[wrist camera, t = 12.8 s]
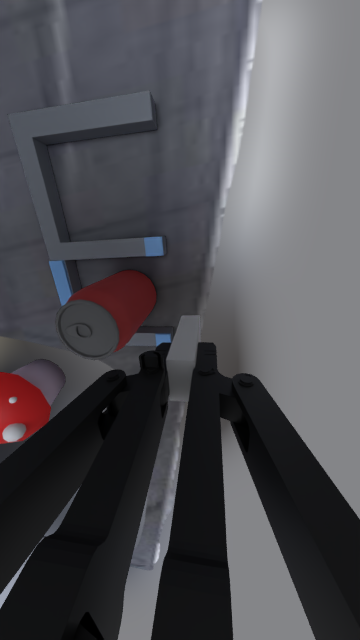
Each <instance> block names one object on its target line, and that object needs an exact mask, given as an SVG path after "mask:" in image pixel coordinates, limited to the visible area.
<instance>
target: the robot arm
mask: <svg viewBox="0 0 360 640" xmlns="http://www.w3.org/2000/svg"><path fill="white" fill-rule="evenodd" d="M139 361H140V367H141V370H140V372H139V373H138V374H135V375H129V376H126V374H125V372H124V371H122V370H111V371H109V372H106V373H105V374H103V375H102V376H101V377H100V378H99V379H98V380H96V381H95V382H94V383H93V384H92V385H91V386H89V387H88V388H87V389H86V390H85V391H83V392H82V393H81V394H80V395H79V396H78V397H77V398H75V399H74V400H73V401H72V402H71V403H70V404H68V405H67V406H66V407H65V408H64V409H63V410H62V411H60V412H59V413H58V414H57V415H56V416H55V417H54V418H53V419H51V420H50V421H49V422H48V423H47V424H45V425H44V426H43V427H42V428H41V429H40V430H39V431H37V432H36V433H35V434H34V435H33V436H32V437H31V438H29V439H28V440H27V441H26V442H25V443H24V444H22V445H21V446H20V447H19V448H18V449H17V450H16V451H14V452H13V453H12V454H11V455H10V456H9V457H7V458H6V459H5V460H4V461H3V462H2V463H0V594H1V593H2V592H3V590H4V589H5V587H6V586H7V584H8V583H9V582H10V581H11V579H12V578H13V577H14V575H15V574H16V573H17V571H18V570H19V569H20V567H21V566H22V564H23V563H24V562H25V560H26V559H27V557H28V556H29V555H30V554H31V552H32V551H33V549H34V548H35V546H36V545H37V544H38V543H39V541H40V540H41V539H42V537H43V536H44V535H45V533H46V532H47V531H48V529H49V528H50V526H51V525H52V524H53V522H54V520H55V519H56V518H57V517H58V515H59V514H60V513H61V512H62V510H63V509H64V507H65V506H66V505H67V503H68V502H69V501H70V499H71V498H72V496H73V495H74V494H75V493H76V491H77V490H78V488H79V487H80V488H79V490H78V492H77V494H76V496H75V498H74V500H73V502H72V504H71V506H70V508H69V510H68V512H67V514H66V516H65V518H64V519H63V521H62V523H61V525H60V527H59V528H58V529H57V531H56V532H55V533H54V534H52V535H49V536H47V537H45V538H44V539H43V540H42V541H41V542H40V543H39V544H38V545H37V546H36V548H35V550H34V551H33V553H32V554H31V556H30V557H29V559H28V561H27V562H26V564H25V566H24V568H23V569H22V571H21V573H20V575H19V577H18V579H17V580H16V582H15V584H14V586H13V587H12V589H11V591H10V593H9V595H8V596H7V598H6V600H5V602H4V603H3V605H2V607H1V609H0V640H117V639H118V634H119V629H120V625H121V619H122V612H123V600H124V590H125V584H126V579H127V575H128V571H129V567H130V563H131V559H132V555H133V550H134V546H135V542H136V538H137V534H138V530H139V526H140V521H141V517H142V513H143V509H144V505H145V501H146V497H147V493H148V489H149V484H150V480H151V476H152V472H153V468H154V464H155V460H156V456H157V451H158V447H159V443H160V439H161V435H162V431H163V427H164V423H165V418H166V414H167V410H168V396H169V397H170V401H188V409H187V416H186V423H185V431H184V438H183V445H182V452H181V460H180V467H179V474H178V482H177V489H176V496H175V504H174V511H173V518H172V526H171V533H170V541H169V546H168V551H167V553H166V556H165V558H164V561H163V566H162V571H161V577H160V583H159V590H158V596H157V602H156V609H155V616H154V623H153V629H152V636H151V640H233V628H232V610H231V592H230V578H229V568H228V561H227V544H226V524H225V504H224V484H223V465H222V444H221V424H220V417H221V418H224V419H227V420H229V421H230V422H231V426H232V428H233V431H234V433H235V436H236V439H237V441H238V443H239V446H240V449H241V451H242V454H243V456H244V459H245V461H246V464H247V466H248V469H249V472H250V474H251V476H252V479H253V482H254V484H255V487H256V489H257V491H258V494H259V497H260V499H261V502H262V505H263V507H264V509H265V512H266V515H267V517H268V520H269V522H270V525H271V527H272V530H273V532H274V535H275V538H276V540H277V543H278V545H279V547H280V550H281V553H282V555H283V558H284V560H285V563H286V565H287V568H288V570H289V573H290V576H291V578H292V580H293V583H294V585H295V588H296V591H297V593H298V596H299V598H300V601H301V603H302V606H303V608H304V611H305V614H306V616H307V619H308V621H309V624H310V626H311V629H312V631H313V634H314V636H315V639H316V640H360V519H359V518H358V516H357V515H356V514H355V512H354V511H353V509H352V508H351V507H350V506H349V504H348V503H347V501H346V500H345V499H344V497H343V496H342V494H341V493H340V491H339V490H338V489H337V487H336V486H335V484H334V483H333V482H332V480H331V479H330V477H329V476H328V475H327V474H326V472H325V471H324V469H323V468H322V466H321V465H320V464H319V462H318V461H317V460H316V458H315V457H314V455H313V454H312V452H311V451H310V450H309V448H308V447H307V446H306V444H305V443H304V442H303V440H302V439H301V437H300V436H299V435H298V433H297V432H296V430H295V429H294V427H293V426H292V425H291V423H290V422H289V421H288V419H287V418H286V416H285V415H284V414H283V412H282V411H281V410H280V408H279V407H278V405H277V404H276V402H275V401H274V400H273V398H272V397H271V396H270V394H269V393H268V391H267V390H266V389H265V387H264V386H263V384H262V383H261V382H260V380H259V379H258V378H257V377H255V376H253V375H250V374H246V373H245V374H244V373H241V374H237V375H235V376H234V377H233V379H231V378H228V377H225V376H223V375H221V374H220V373H219V372H218V370H217V355H216V346H215V345H214V343H206V342H205V343H204V342H201V328H200V315H182V316H181V319H180V322H179V325H178V327H177V330H176V333H175V336H174V339H173V341H172V343H170V342H162V343H161V344H159V345H158V346H157V348H156V350H155V351H154V350H153V351H147V352H144V353H142V354H141V355H140V356H139ZM105 408H107V410H106V411H105V412H103V413H102V411H103V410H104V409H105Z"/></svg>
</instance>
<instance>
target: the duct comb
mask: <svg viewBox="0 0 360 640" xmlns="http://www.w3.org/2000/svg"><path fill="white" fill-rule="evenodd" d="M7 115H8V119H9V122H10V125H11V129H12V132H13V136H14V139H15V142H16V146H17V149H18V153H19V156H20V160H21V163H22V166H23V170H24V173H25V177H26V180H27V184H28V187H29V190H30V194H31V197H32V201H33V204H34V207H35V211H36V214H37V218H38V221H39V225H40V228H41V231H42V235H43V238H44V242H45V245H46V248H47V252H48V255H49V259H50V261H49V264H50V268H51V271H52V275H53V278H54V281H55V285H56V288H57V292H58V295H59V298H60V302H61V305H62V306H63V305H65V304H66V302H67V301H68V299H69V298H70V297H71V296H72V295H73V294H74V293H76V292H77V291H79V290H81V289H82V287H81V283H80V279H79V275H78V271H77V267H76V263H75V260H78V259H98V258H118V257H138V256H163V255H165V254H167V246H166V236H160V237H144V238H129V239H113V240H97V241H81V242H70V238H69V234H68V230H67V226H66V222H65V218H64V214H63V210H62V206H61V202H60V198H59V194H58V190H57V186H56V182H55V178H54V174H53V170H52V166H51V162H50V158H49V154H48V149H47V145H51V144H58V143H65V142H72V141H79V140H87V139H94V138H101V137H108V136H115V135H123V134H130V133H137V132H144V131H151V130H157V120H156V108H155V102H154V100H153V97H152V95H151V92H150V91H144V92H138V93H132V94H126V95H120V96H114V97H108V98H102V99H96V100H90V101H84V102H78V103H72V104H66V105H60V106H54V107H48V108H42V109H36V110H30V111H24V112H19V113H13V114H7ZM173 339H174V335H173V327H139V328H138V330H137V331H136V333H135V334H134V335H133V337H132V338H131V339H130V341H129V342H128V343H127V344H126V345H125V346H158V345H159V344H161V343H162V342H170V343H172V341H173Z"/></svg>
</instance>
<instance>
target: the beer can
mask: <svg viewBox="0 0 360 640" xmlns="http://www.w3.org/2000/svg"><path fill="white" fill-rule="evenodd" d="M155 303H156V291H155V287H154V285H153V284H152V282H151V280H150V279H149V278H148V277H147V276H146V275H144V274H143V273H140V272H138V271H135V270H125V271H121V272H118V273H116V274H114V275H112V276H109V277H107V278H105V279H103V280H100V281H98V282H96V283H94V284H91V285H89V286H87V287H85V288H82V289H81V290H79V291H77V292H76V293H74V294H73V295H72V296H71V297H70V298H69V299H68V301H67V302H66V304H65V305H63V306H62V307H61V308H60V310H59V311H58V313H57V316H56V321H55V323H56V330H57V333H58V335H59V337H60V339H61V341H62V342H63V343H64V345H65V346H66V347H67V348H68V349H69V350H71V351H72V352H73V353H74V354H76V355H78V356H81V357H83V358H86V359H92V360H97V359H104V358H106V357H108V356H110V355H111V354H112V353H113V352H116V351H118V350H120V349H121V348H123V347H124V346H125V345H126V344H127V343H128V342H129V341H130V339H131V338H132V337H133V335H134V334H135V333H136V331H137V330H138V328H139V327H140V326H141V324H142V323H143V322H144V320H145V319H146V318H147V316H148V315H149V313H150V312H151V311H152V309H153V308H154V305H155Z"/></svg>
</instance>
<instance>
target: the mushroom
mask: <svg viewBox="0 0 360 640" xmlns="http://www.w3.org/2000/svg"><path fill="white" fill-rule="evenodd" d="M64 384H65V375H64V373H63V371H62V370H61V369H60V368H59V367H58V365H56V364H55V363H53V362H51V361H49V360H44V359H40V360H35V361H33V362H31V363H29V364H27V365H25V366H23V367H21V368H19V369H17V370H15V371H14V372H12V373H11V374H10V373H4V372H0V444H2V443H10V442H17V441H23V440H25V439H26V438H27V437H29V436H30V435H32V434H33V433H34V432H36V431H37V430H39V429H40V428H41V427H43V426H44V425H45V424H47V423H48V421H49V416H50V411H51V407H50V405H51V404H52V403H53V401H54V400H55V398H56V396H57V395H58V394H59V392H60V390H61V389H62V387H63V386H64Z"/></svg>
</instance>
